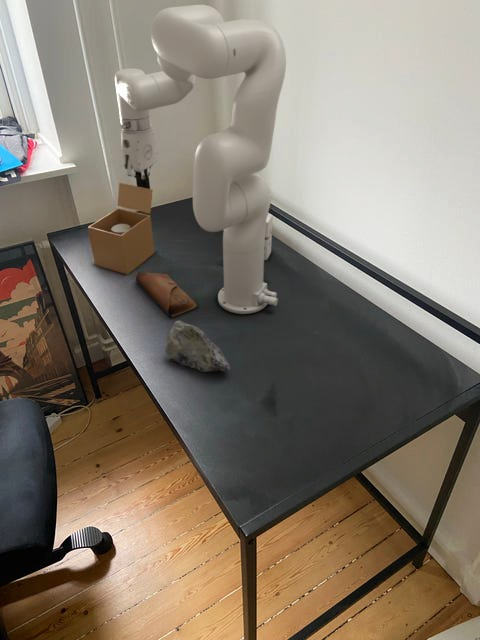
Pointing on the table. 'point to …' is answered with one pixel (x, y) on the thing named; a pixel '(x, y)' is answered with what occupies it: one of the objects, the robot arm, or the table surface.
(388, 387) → the table surface
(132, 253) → the carton
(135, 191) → the flap
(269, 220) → the ink box
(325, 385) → the table surface
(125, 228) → the tea tin
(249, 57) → the robot arm
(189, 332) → the mineral rock
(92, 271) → the table surface
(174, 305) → the sunglasses case
